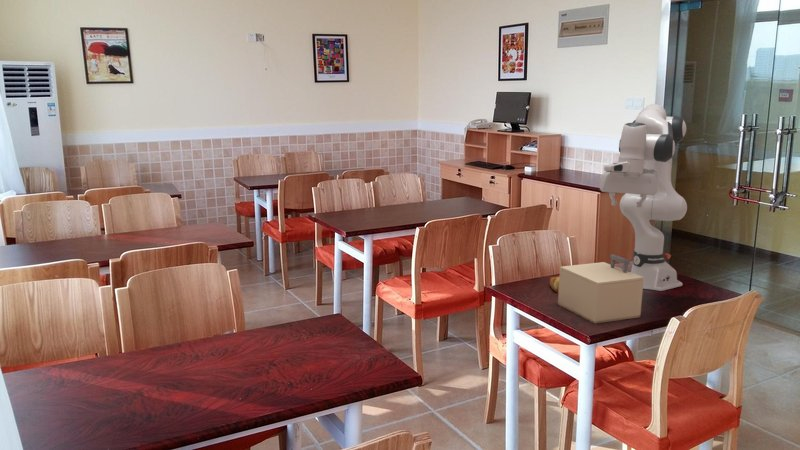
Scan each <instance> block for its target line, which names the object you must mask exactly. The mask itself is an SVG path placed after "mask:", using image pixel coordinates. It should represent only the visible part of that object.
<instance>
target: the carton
mask: <svg viewBox="0 0 800 450" xmlns="http://www.w3.org/2000/svg"><path fill="white" fill-rule="evenodd" d="M559 276H560V278H559V293H557V295H558V297H557V306H560V307H562V308H564V309H566V310H568V311H569V312H571V313H573V314H575V315H577V316H579V317H581V318H583V319H585V320H587V321H588V320H589V321H588V322H590V323H593V324H603V323H609V322H616V321H623V320H627V319H636V318H641V313H642V301H643V291H644V289H643V281H644V280H636V281H628V282H619V283H611V284H603V285H596V284H594V283H592V282H589V281H587V280H585V279H582V278H580V277H578V276H576V275H573V274H571V273H569V272H566V271H564V270H562V269H560V268H559Z"/></svg>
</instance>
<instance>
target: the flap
mask: <svg viewBox="0 0 800 450" xmlns="http://www.w3.org/2000/svg"><path fill="white" fill-rule="evenodd" d="M609 259H610V263H607V262H605V261H602V262H601V261H600V262H591V263H582V264H572V265H571V264H570V265H565V266H560V267H559V270H560V269H562V270H564V271H566V272H569V273H571V274H573V275H576V276H578V277H580V278H582V279H585V280H587V281H589V282H592V283H594V284H596V285H603V284H611V283H619V282H628V281H636V280H644V277H642V276H639V275H636V274H634V273H631V271H628V267H629V264H630V260H629V259H627V258H626V257H622V256H618V255H616V254H613V253H612V254H610V256H609ZM615 262H618V263H620V264H623V267H622V268H620V267H618V266H615Z"/></svg>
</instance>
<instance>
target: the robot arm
mask: <svg viewBox="0 0 800 450" xmlns="http://www.w3.org/2000/svg"><path fill="white" fill-rule="evenodd" d="M686 133H687V123H686V122H685V119H684V118H683V117H681V116H675V115H674V116H668V115H667V111H666V110H665V108H664V106H662V105H661V104H656V103H652V104H649V105H646V106H645V107H644V108H643V109H642V110H641V111H640V112H639V113H638V115H637V116H636V118H635V119H634V120H633V121H632V122H627V123H624V125H623V127H622V131H621V137H620V139H619V143H618V152H619V156H618V158H617V159H618V160H617V162H613V163H609V164H606V165H604V167H603V170H604V172H603V173H602V174H601V177H600V181H599V190H600V191H601V192H603V193H604V192H605V193H608V196H609V198H610V203H611V206H617V205H618V200H616V198H615V196H616V193H618V194H623V195H622V196H621V199H620V201H619V210H620V212H621V214H622V215H623V216H624V217H626V219H628V221H629V222H630V223H631V226H632V227H633V230H634V238H635V239H634V250H633V253H632V265H631V271H630V272H631V273H634V274H636V275H639V276H642V277H644V281H643V290H653V291H659V292H663V291H666V290H667V291H668V290H671V289H674V288H675V289H676V288H678V287H682V286H683V282H681V281H680V280H678V273H677V270H676V269H675V268H674V267H673V266H672V265H670V264H669V263H668V262H667V261H666V259H668V260H669V259H671V257H672V255H671V254H670V253H668V252H667V253H664V244H665V235H664V233H663V232H662V231H661V230H660V229H658V228H657V227H656V226H653V225H652V224H651V222H650V220H651V221H652V220H653V221H664V222H665V221H666V222H671V221H680V220H681V219H683V218H684V217H685V215H686V213H687V211H688V203H687V201H686V199H685V198H684V196H681V195H680V194H679V193H678V192H677V191H676V190H675V188H674V187H673V183H672V170H673V169H672V168H673V167H672V166H673V156H674V155H675V150H676V146H677V144H679V143H680V142H682V140H683V139H684V138H685V135H686Z"/></svg>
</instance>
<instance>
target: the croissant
mask: <svg viewBox="0 0 800 450" xmlns="http://www.w3.org/2000/svg"><path fill="white" fill-rule="evenodd" d="M559 278H560V275H558V276H553V277H549V279H548V280H549V285H550V288H551V289H552V290H553V291H554V292H556V293H557V294H559Z"/></svg>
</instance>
